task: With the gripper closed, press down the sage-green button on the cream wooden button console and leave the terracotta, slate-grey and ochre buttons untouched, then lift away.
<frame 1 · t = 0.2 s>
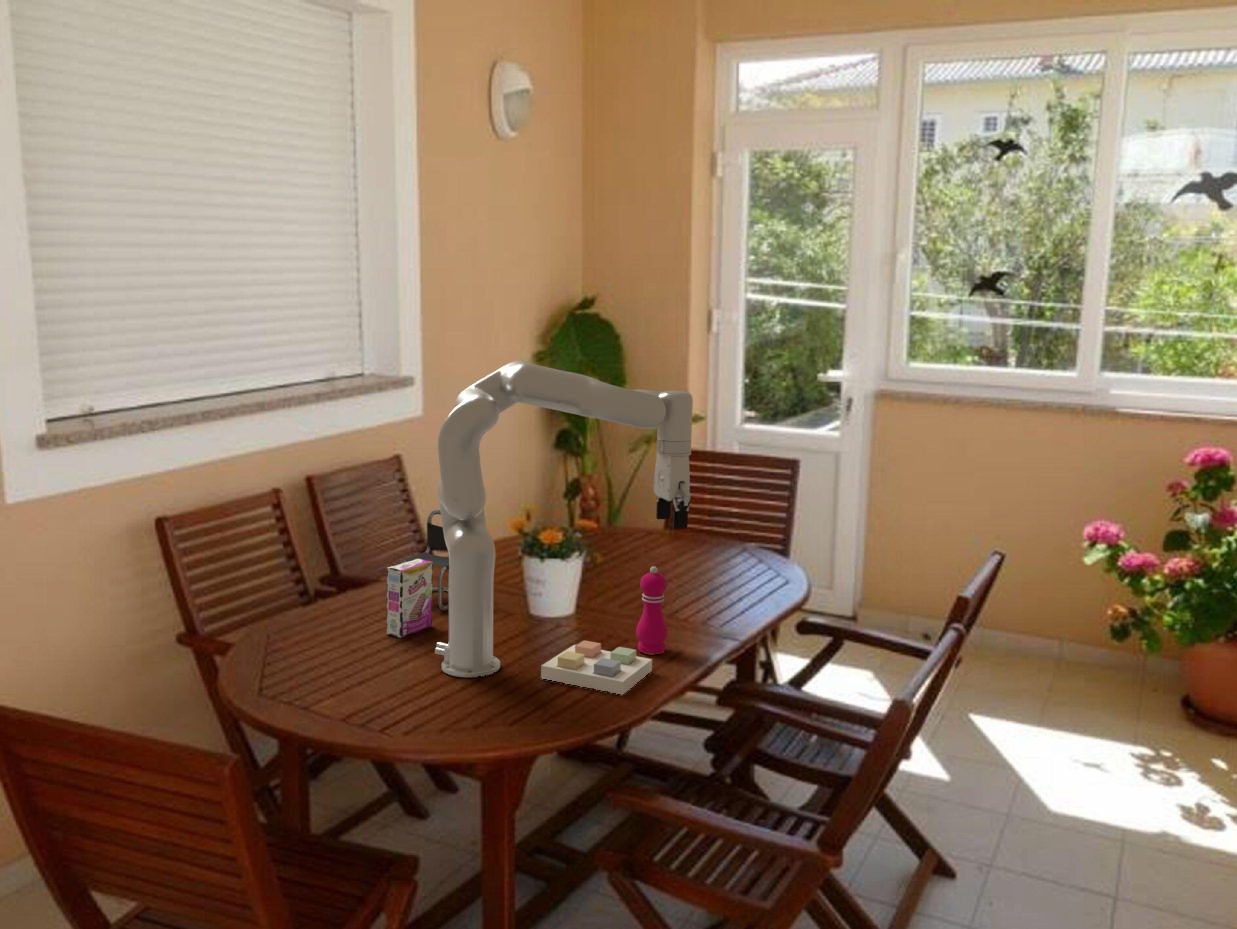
hand: (671, 523, 240), 31 cm above the table, tool pointing down, fingers open, 9 cm apart
ochre button: (571, 661, 229), point 4 cm above the table, slide at 0.0 cm
pepper mill: (651, 651, 248), on the table
chair: (437, 601, 281), on the table
console: (597, 675, 231), on the table
candy bar box: (410, 631, 258), on the table
sage button: (623, 656, 233), point 4 cm above the table, slide at 0.0 cm
terracotta button: (588, 649, 236), point 4 cm above the table, slide at 0.0 cm
slate button: (607, 668, 225), point 4 cm above the table, slide at 0.0 cm
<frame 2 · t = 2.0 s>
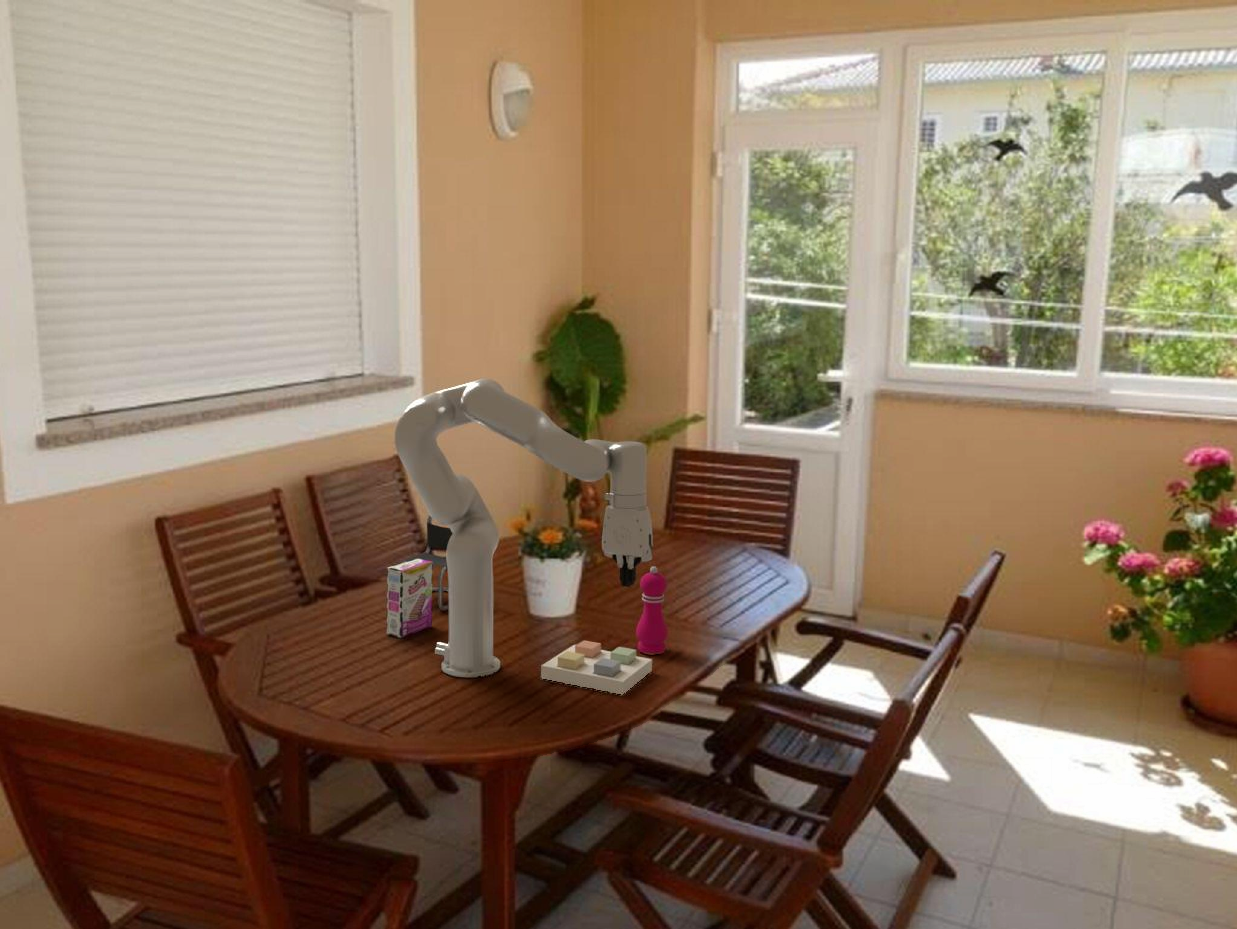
hand: (627, 585, 230), 20 cm above the table, tool pointing down, fingers closed
nothing on the table moved.
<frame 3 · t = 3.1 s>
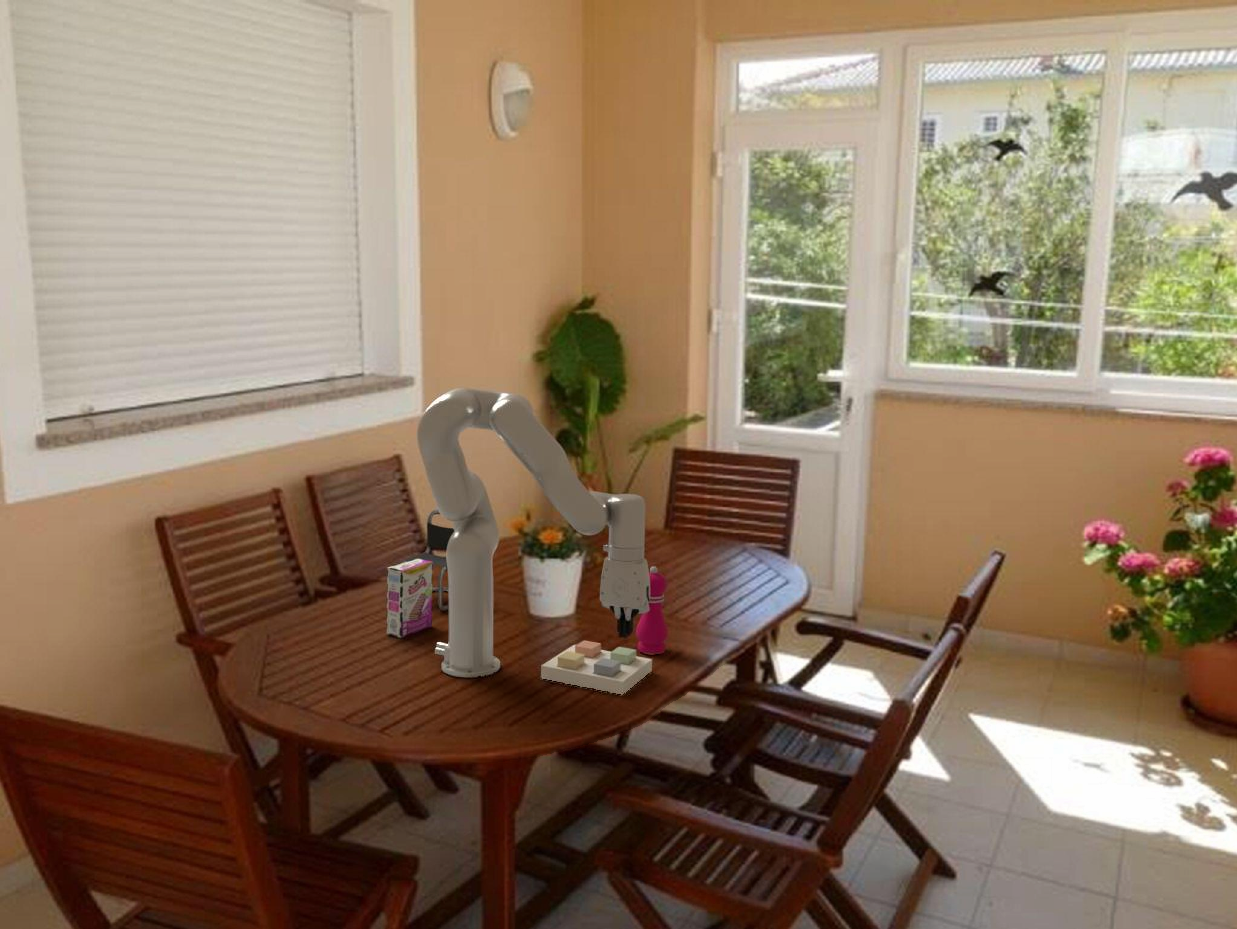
hand: (624, 635, 232), 8 cm above the table, tool pointing down, fingers closed
nothing on the table moved.
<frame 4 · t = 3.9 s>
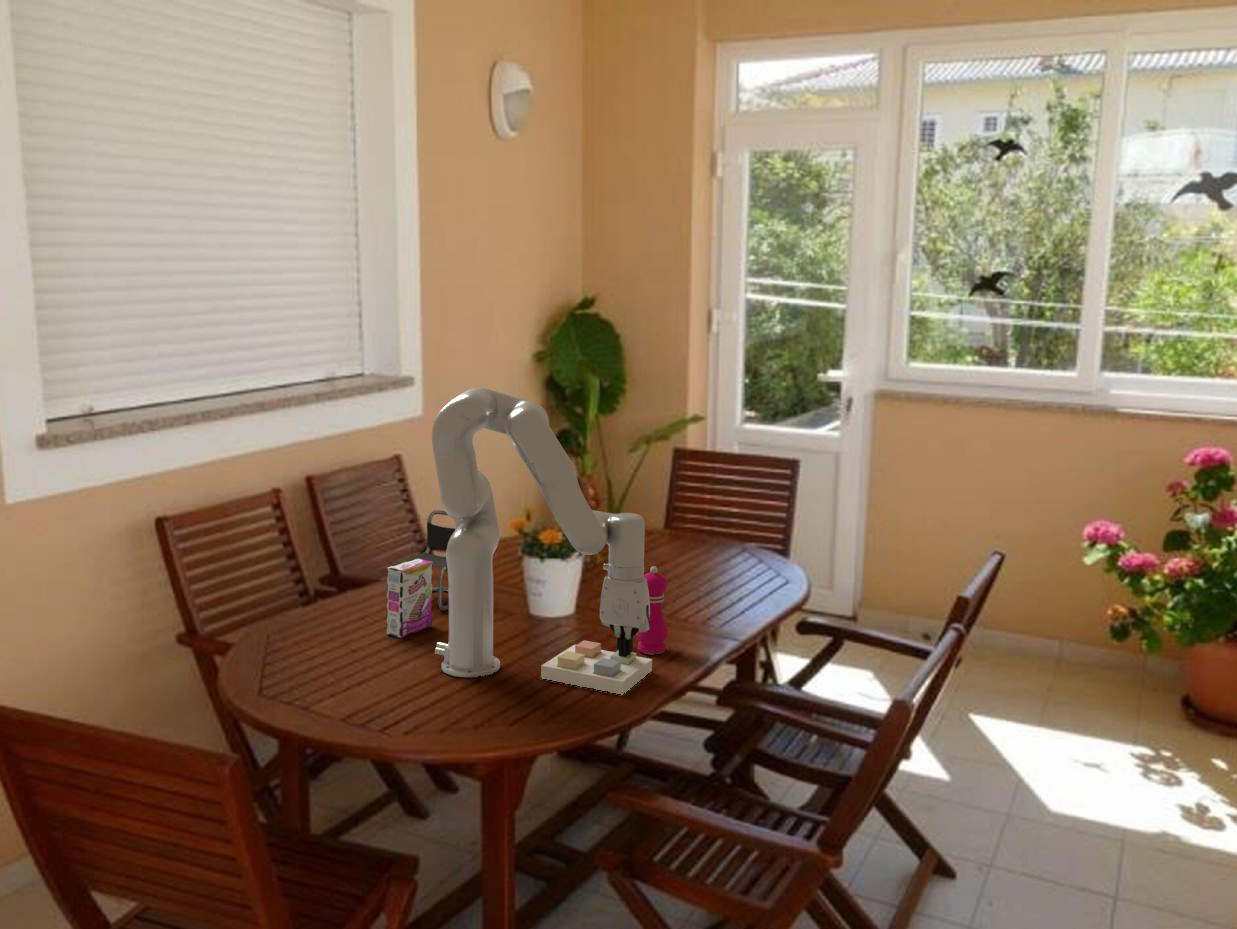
hand: (624, 654, 233), 4 cm above the table, tool pointing down, fingers closed
sage button: (623, 659, 233), point 3 cm above the table, slide at 0.7 cm, touching gripper
everything else where it was.
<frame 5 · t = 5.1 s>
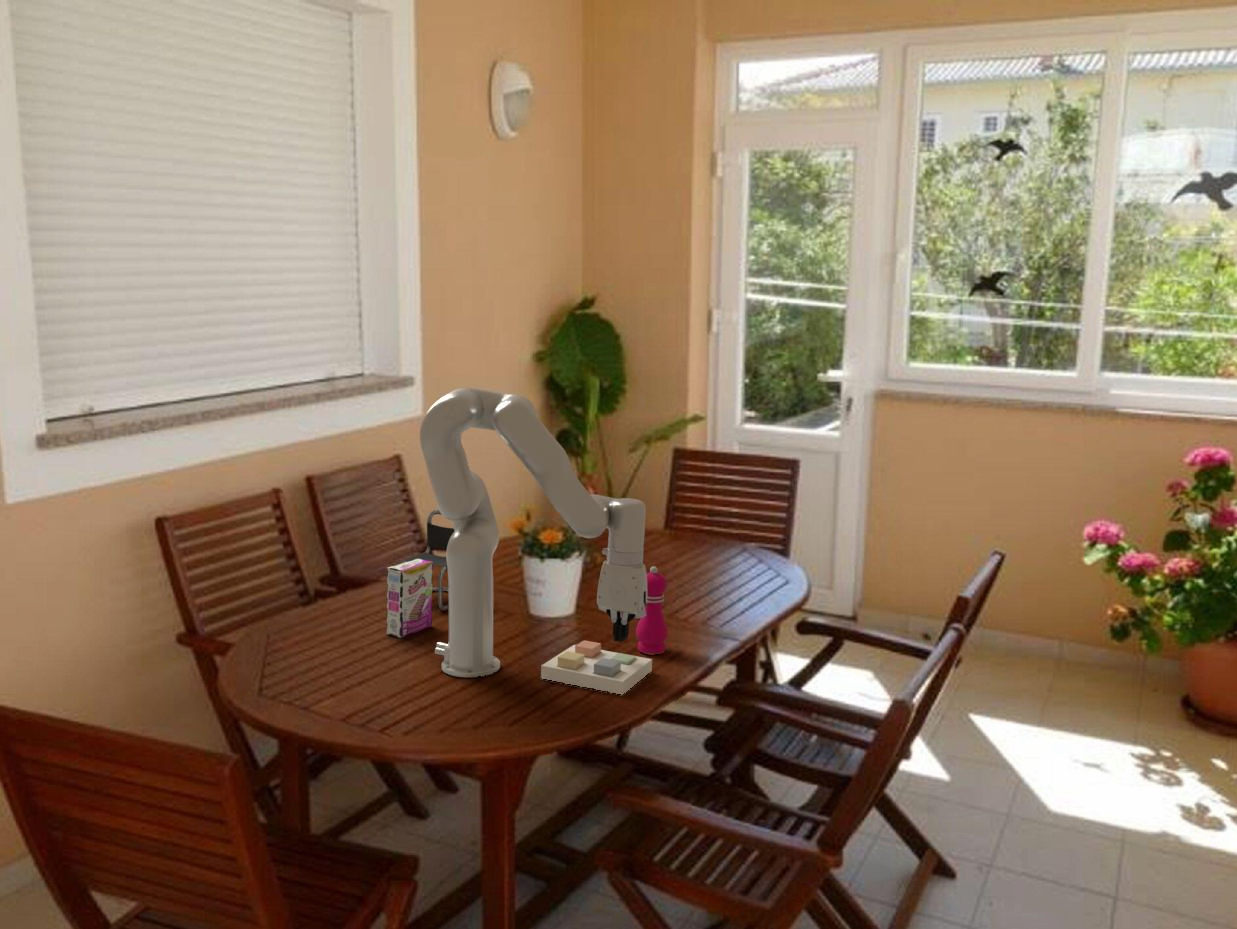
hand: (620, 639, 232), 7 cm above the table, tool pointing down, fingers closed
sage button: (623, 662, 233), point 2 cm above the table, slide at 1.4 cm
everything else where it was.
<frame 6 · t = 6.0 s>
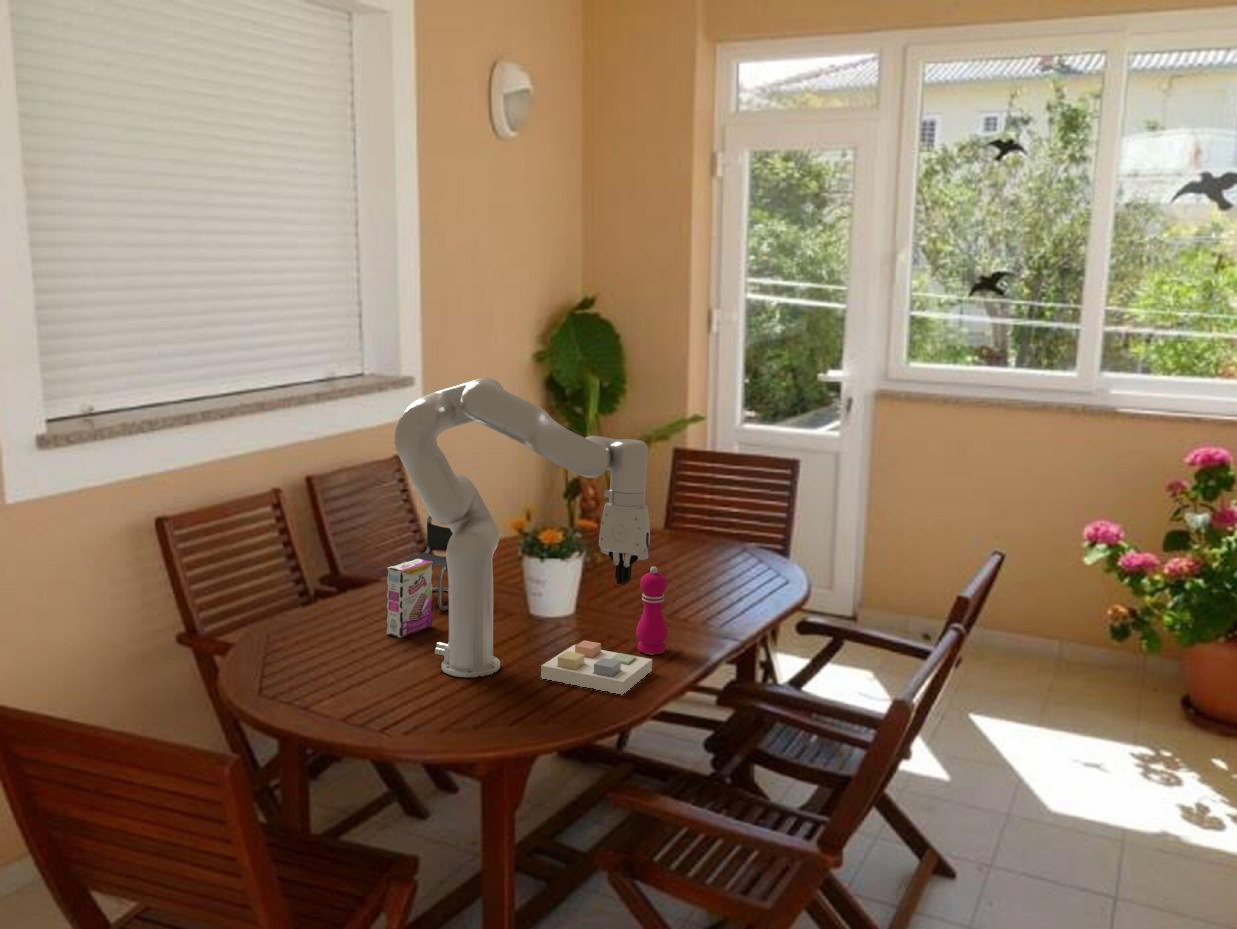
hand: (622, 582, 230), 20 cm above the table, tool pointing down, fingers closed
nothing on the table moved.
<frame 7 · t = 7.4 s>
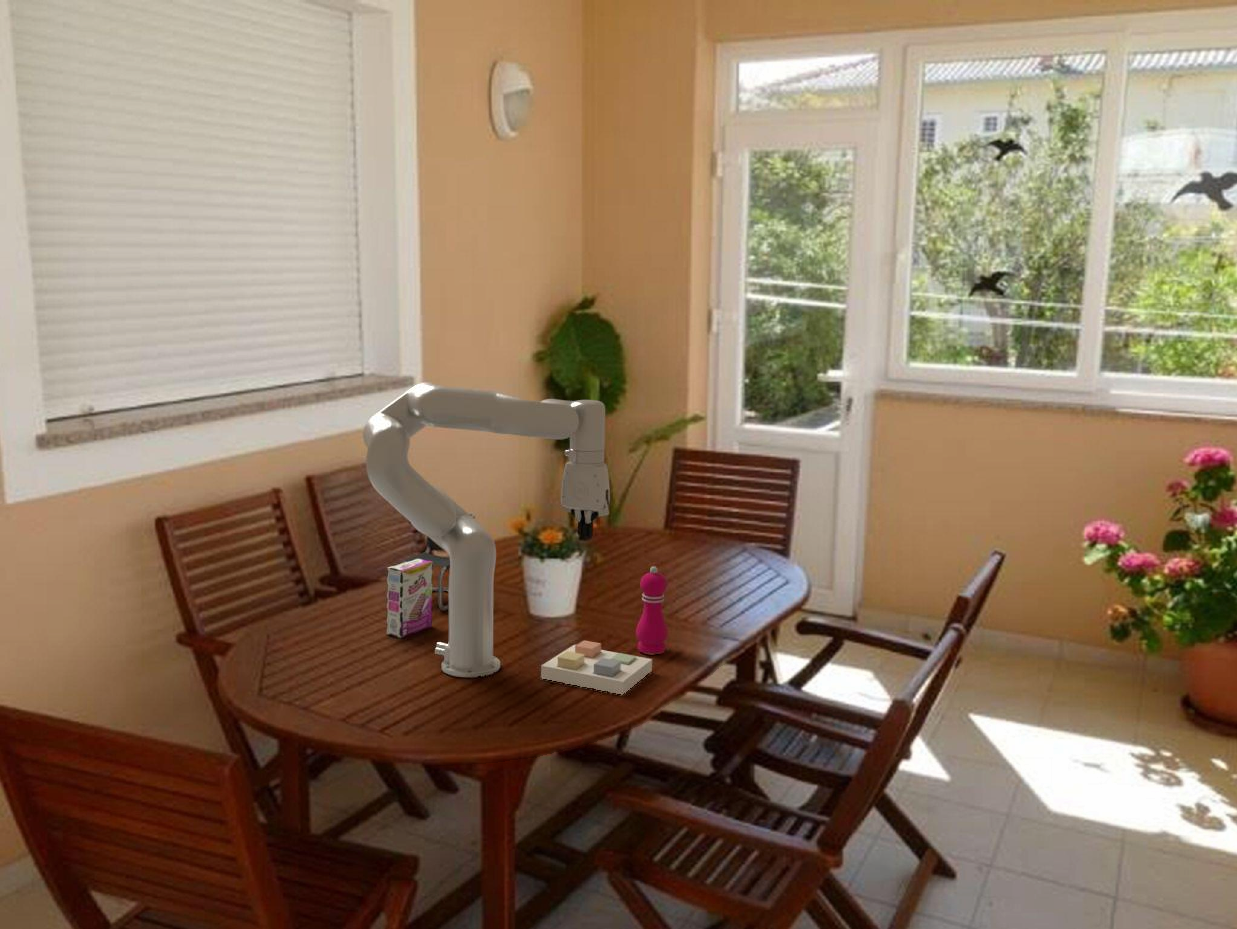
hand: (585, 539, 238), 27 cm above the table, tool pointing down, fingers closed
nothing on the table moved.
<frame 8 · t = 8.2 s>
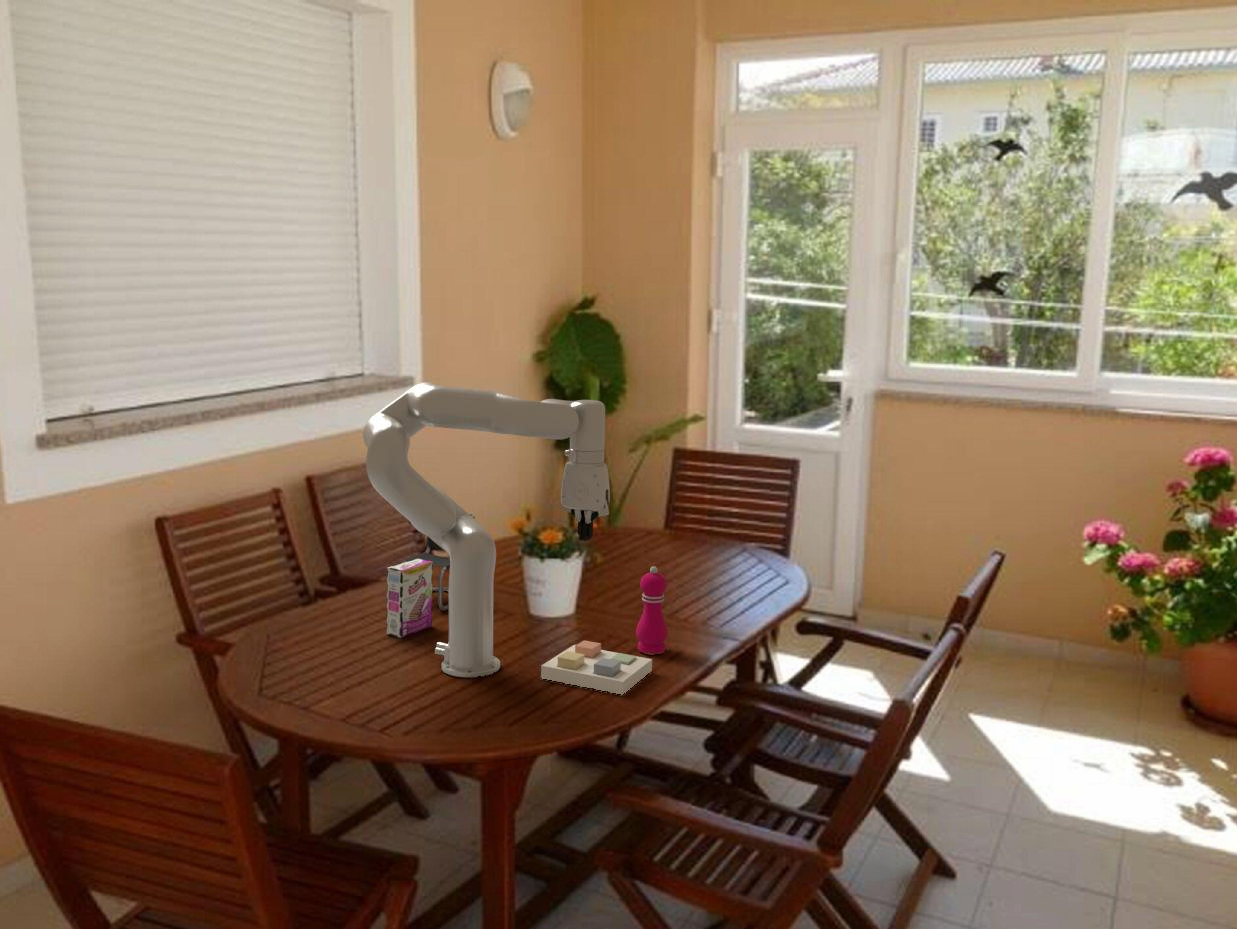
hand: (585, 539, 238), 27 cm above the table, tool pointing down, fingers closed
nothing on the table moved.
at the end: sage button slide at 1.4 cm; terracotta button slide at 0.0 cm; slate button slide at 0.0 cm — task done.
